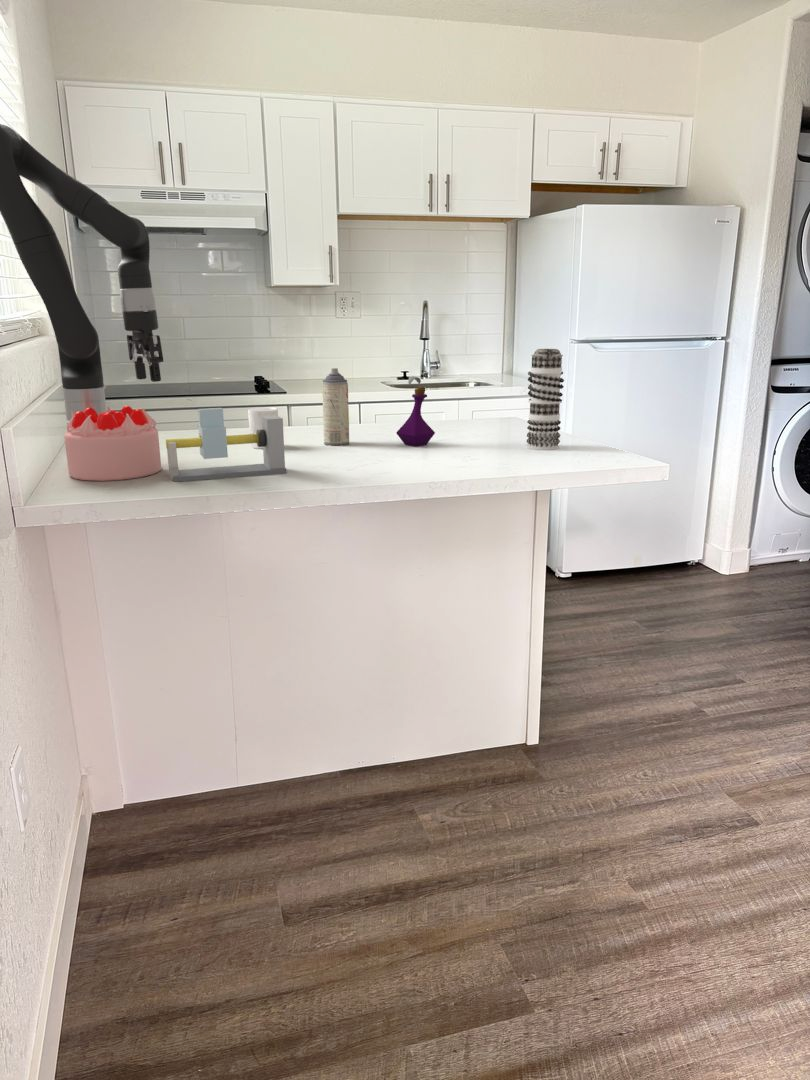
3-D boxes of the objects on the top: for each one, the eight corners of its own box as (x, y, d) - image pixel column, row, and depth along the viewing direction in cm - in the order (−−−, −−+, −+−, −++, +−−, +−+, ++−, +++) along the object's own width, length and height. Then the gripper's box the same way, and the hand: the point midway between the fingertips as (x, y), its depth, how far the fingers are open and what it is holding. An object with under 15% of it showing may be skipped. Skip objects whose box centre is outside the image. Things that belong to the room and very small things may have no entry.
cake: (59, 471, 180) (51, 408, 176) (146, 461, 191) (141, 402, 187) (82, 485, 165) (74, 417, 161) (175, 474, 176) (170, 409, 172)
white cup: (244, 448, 208) (242, 410, 205) (258, 443, 215) (256, 406, 212) (271, 450, 205) (269, 411, 203) (284, 445, 213) (282, 407, 210)
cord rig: (171, 482, 167) (166, 425, 164) (167, 475, 174) (162, 420, 171) (286, 473, 176) (283, 418, 173) (278, 466, 183) (275, 414, 180)
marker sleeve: (204, 459, 169) (200, 411, 166) (200, 454, 175) (196, 407, 172) (227, 457, 171) (224, 409, 168) (223, 452, 177) (219, 406, 174)
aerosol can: (353, 444, 213) (351, 368, 207) (329, 446, 210) (327, 369, 204) (343, 441, 218) (341, 367, 213) (320, 443, 215) (317, 368, 210)
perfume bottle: (416, 441, 217) (416, 374, 212) (435, 444, 212) (435, 376, 207) (395, 444, 212) (395, 376, 207) (415, 448, 207) (414, 378, 202)
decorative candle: (523, 444, 211) (526, 348, 204) (558, 444, 211) (562, 348, 204) (526, 450, 203) (530, 350, 196) (563, 450, 202) (568, 349, 195)
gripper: (111, 310, 186) (122, 380, 191) (135, 309, 175) (145, 383, 180) (142, 308, 190) (151, 377, 195) (167, 308, 180) (176, 380, 184)
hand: (148, 380), depth 187 cm, fingers open, 8 cm apart
